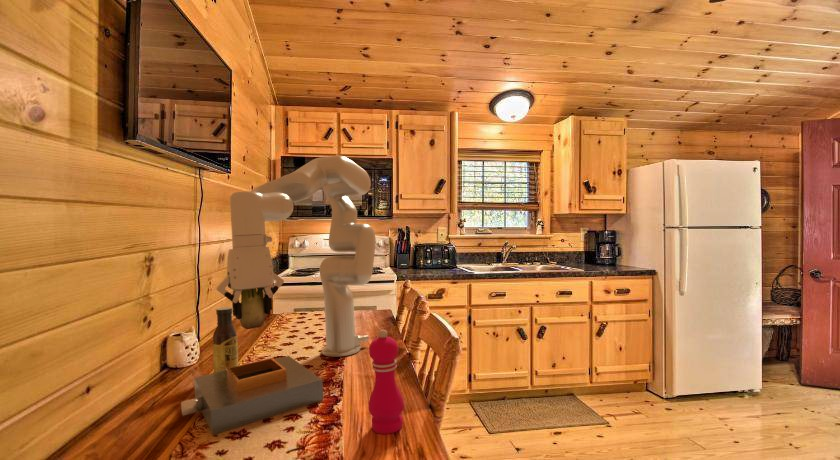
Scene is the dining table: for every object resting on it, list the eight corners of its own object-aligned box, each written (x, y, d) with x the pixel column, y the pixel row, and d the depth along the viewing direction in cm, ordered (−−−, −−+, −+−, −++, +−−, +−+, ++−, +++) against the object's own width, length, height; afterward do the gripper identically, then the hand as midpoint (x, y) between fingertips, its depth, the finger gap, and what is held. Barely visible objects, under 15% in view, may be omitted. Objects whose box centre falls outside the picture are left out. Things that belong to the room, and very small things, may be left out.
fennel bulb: (265, 324, 103) (262, 277, 103) (266, 328, 99) (264, 279, 99) (240, 327, 101) (237, 279, 100) (240, 332, 96) (238, 281, 96)
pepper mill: (370, 419, 87) (365, 326, 87) (404, 416, 88) (399, 324, 87) (368, 437, 80) (364, 335, 79) (405, 434, 80) (401, 333, 80)
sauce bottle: (229, 384, 111) (225, 311, 110) (209, 383, 112) (205, 311, 112) (244, 375, 117) (240, 306, 117) (225, 374, 118) (221, 306, 118)
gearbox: (289, 373, 117) (288, 347, 117) (323, 400, 98) (321, 369, 97) (176, 402, 100) (174, 371, 100) (190, 441, 81) (188, 404, 81)
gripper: (280, 240, 108) (283, 308, 108) (207, 244, 97) (211, 319, 98) (289, 240, 102) (293, 312, 102) (213, 245, 91) (217, 325, 92)
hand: (253, 315), depth 100 cm, fingers closed on fennel bulb, 6 cm apart
